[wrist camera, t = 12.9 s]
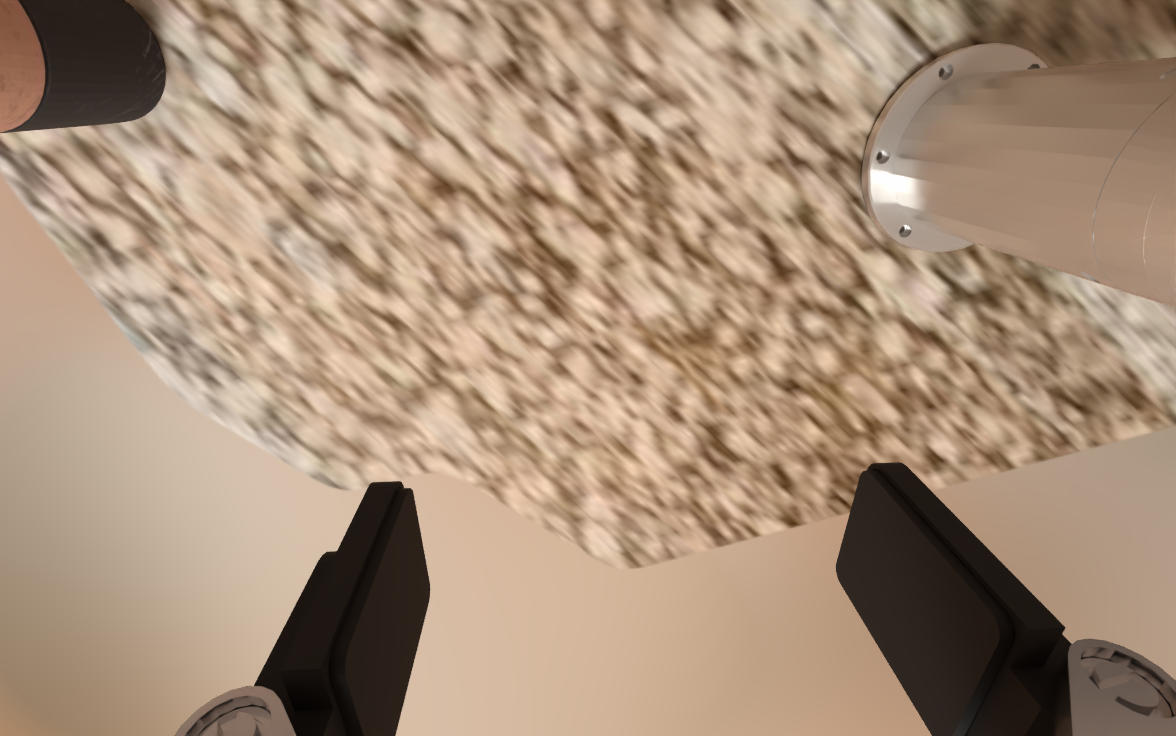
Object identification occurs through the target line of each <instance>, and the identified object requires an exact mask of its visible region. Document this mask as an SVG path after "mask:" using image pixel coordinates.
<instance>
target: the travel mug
mask: <svg viewBox="0 0 1176 736" xmlns="http://www.w3.org/2000/svg"><path fill="white" fill-rule="evenodd" d="M164 85H165V67H164V61H163V57H162V54H161V50H160V48H159V45H158V43H157V41H156V39H155V37H154V35H153V33H152V31H151V30H150V28H149V27H148V25H147V24H146V22H145V21H144V20H143V19H142V17H141V16H140V15H139V14H138V13H137V12H136V11H135V10H134V9H133V7H132V6H130V5H129V4H128V3H127V2H126V1H125V0H0V133H7V132H19V131H30V130H42V129H54V128H66V127H77V126H89V125H101V124H111V123H120V122H127V121H132V120H135V119H138V118H141V117H143V116H145V115H146V114H147V113H149V112H150V111H151V110H152V109H153V108H154V107H155V106H156V105H157V103H158V102H159V100H160V98H161V96H162V93H163V89H164Z"/></svg>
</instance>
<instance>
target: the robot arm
mask: <svg viewBox="0 0 1176 736" xmlns="http://www.w3.org/2000/svg"><path fill="white" fill-rule="evenodd" d="M939 71H940V74H939ZM878 153H879V156H878V158H877V159H876V156H877V154H878ZM861 180H862V190H863V198H864V201H865V204H866V207H867V210H868V213H869V214H870V216H871V218H872V219H873V221H874V223H875V224H876V226H877V227H878V228H879V229H880V230H881V231H882V232H883V233H884V234H885V235H886V236H887V237H889V238H891V239H892V240H894V241H896V242H897V243H899V244H901V245H904V246H907V247H909V248H912V249H915V250H920V251H925V252H947V251H952V250H957V249H962V248H965V247H968V246H970V245H973V244H975V243H976V244H979V245H982V246H985V247H988V248H991V249H994V250H997V251H1000V252H1003V253H1006V254H1010V255H1013V256H1016V257H1019V258H1022V259H1025V260H1028V261H1031V262H1034V263H1037V264H1040V265H1044V266H1047V267H1050V268H1053V269H1056V270H1059V271H1062V272H1065V273H1068V274H1071V275H1074V276H1078V277H1081V278H1084V279H1087V280H1090V281H1093V282H1096V283H1099V284H1102V285H1105V286H1109V287H1112V288H1115V289H1118V290H1121V291H1124V292H1127V293H1130V294H1133V295H1136V296H1140V297H1143V298H1146V299H1150V300H1153V301H1156V302H1159V303H1163V304H1167V305H1171V306H1175V307H1176V57H1175V58H1162V59H1150V60H1137V61H1124V62H1112V63H1099V64H1087V65H1074V66H1062V67H1048V65H1047V64H1046V63H1045V62H1044V61H1043V60H1042V59H1041V58H1039V57H1038V56H1037V55H1035V54H1034V53H1033V52H1032V51H1029V50H1027V49H1024V48H1022V47H1019V46H1017V45H1011V44H1003V43H989V44H979V45H973V46H969V47H964V48H960V49H956V50H954V51H952V52H949V53H947V54H945V55H942V56H940V57H938V58H936V59H935V60H933V61H932V62H930V63H929V64H927V65H925V66H924V67H922V68H921V69H919V70H918V71H917V72H916V73H915V74H914V75H913V76H911V77H910V78H909V79H908V80H907V81H906V82H905V83H904V84H902V86H901V87H900V88H899V89H898V90H897V92H896V93H895V94H894V95H893V96H892V98H891V99H890V100H889V101H888V103H887V104H886V106H885V108H884V109H883V111H882V112H881V114H880V116H879V117H878V119H877V121H876V123H875V125H874V127H873V130H872V132H871V134H870V137H869V139H868V142H867V146H866V150H865V154H864V158H863V165H862V178H861ZM836 572H837V577H838V580H839V582H840V584H841V585H842V587H843V588H844V590H845V592H846V594H847V595H848V597H849V599H850V600H851V602H852V603H853V605H854V607H855V609H856V610H857V612H858V613H859V615H860V617H861V619H862V620H863V622H864V623H865V625H866V627H867V628H868V630H869V632H870V633H871V635H872V637H873V638H874V640H875V642H876V643H877V645H878V647H879V648H880V650H881V652H882V653H883V655H884V657H885V658H886V660H887V662H888V663H889V665H890V666H891V668H892V670H893V671H894V673H895V675H896V676H897V678H898V680H899V681H900V683H901V684H902V687H903V688H904V690H905V691H906V693H907V695H908V696H909V698H910V700H911V701H912V703H913V705H914V706H915V708H916V710H917V711H918V713H919V715H920V716H921V718H922V720H923V721H924V723H925V725H926V726H927V728H928V730H929V731H930V733H931V735H932V736H1176V680H1174V679H1173V678H1172V677H1171V676H1170V675H1168V674H1167V673H1166V672H1165V671H1164V670H1163V669H1161V668H1160V667H1159V666H1157V665H1156V664H1154V663H1152V662H1151V661H1149V660H1148V659H1146V658H1145V657H1143V656H1142V655H1140V654H1137V653H1135V652H1133V651H1131V650H1129V649H1127V648H1125V647H1123V646H1120V645H1117V644H1114V643H1110V642H1107V641H1104V640H1096V639H1083V640H1077V641H1076V642H1074V643H1073V644H1071V643H1070V642H1069V641H1068V640H1067V639H1066V638H1065V637H1064V636H1063V635H1062V633H1063V631H1064V629H1065V627H1064V626H1063V625H1062V624H1061V623H1060V622H1059V621H1058V620H1057V619H1056V617H1055V616H1054V615H1053V614H1052V613H1051V612H1050V611H1049V610H1047V608H1046V607H1045V606H1044V605H1043V604H1042V603H1041V602H1040V601H1039V600H1038V599H1037V598H1036V597H1035V596H1034V595H1033V594H1032V593H1031V592H1030V591H1029V590H1028V589H1027V588H1026V587H1025V586H1024V585H1023V584H1022V583H1021V582H1020V581H1019V580H1018V579H1017V578H1016V577H1015V576H1014V575H1013V574H1012V573H1011V572H1010V571H1009V570H1008V569H1007V568H1006V567H1005V566H1004V565H1003V564H1002V563H1001V562H1000V561H999V560H998V559H997V558H996V557H995V555H993V553H991V552H990V550H989V549H988V548H987V547H986V546H985V545H984V544H983V543H982V542H981V541H980V540H979V539H978V538H977V537H976V536H975V535H974V534H973V533H972V532H971V531H970V530H969V529H968V528H967V527H966V526H965V525H964V524H963V523H962V522H961V521H960V520H959V519H958V518H957V517H956V516H955V515H954V514H953V513H952V512H951V511H950V510H949V509H948V508H947V507H946V506H945V505H944V504H943V503H942V502H941V501H940V500H939V499H938V498H937V497H936V496H935V495H934V494H933V492H932V491H931V490H930V489H929V488H928V487H927V486H926V485H925V484H924V483H923V482H922V481H921V480H920V479H919V478H918V477H917V476H916V475H915V474H914V473H913V472H912V471H911V470H910V469H909V468H908V467H907V466H906V465H904V464H903V463H899V462H898V463H874V464H871V465H870V466H869V467H868V469H867V471H863V472H862V473H861V475H860V478H859V482H858V485H857V489H856V493H855V497H854V500H853V504H852V508H851V511H850V515H849V519H848V522H847V526H846V530H845V533H844V538H843V541H842V544H841V548H840V552H839V556H838V559H837V563H836ZM429 598H430V582H429V576H428V571H427V565H426V560H425V554H424V549H423V543H422V538H421V532H420V527H419V522H418V516H417V511H416V505H415V500H414V495H413V491H412V489H411V488H404V486H403V484H402V482H400V481H396V482H373V483H371V484H370V485H369V487H368V489H367V491H366V493H365V495H364V497H363V499H362V501H361V503H360V505H359V507H358V509H357V511H356V513H355V515H354V518H353V519H352V522H351V524H350V526H349V528H348V530H347V532H346V534H345V536H344V538H343V540H342V542H341V545H340V546H339V548H338V550H337V551H335V552H326V553H325V554H324V555H322V557H321V558H320V560H319V561H318V563H317V565H316V567H315V569H314V570H313V572H312V575H311V576H310V578H309V580H308V582H307V584H306V586H305V588H304V590H303V592H302V594H301V596H300V598H299V600H298V601H297V603H296V605H295V607H294V609H293V611H292V613H291V615H290V617H289V619H288V621H287V623H286V625H285V627H284V628H283V630H282V632H281V634H280V636H279V638H278V640H277V642H276V644H275V646H274V648H273V650H272V652H271V654H270V656H269V658H268V659H267V662H266V664H265V665H264V667H263V669H262V671H261V673H260V675H259V677H258V679H257V681H256V683H255V685H254V686H246V687H242V688H238V689H234V690H230V691H228V692H226V693H224V694H222V695H220V696H218V697H216V698H213V699H212V700H211V701H209V702H208V703H206V704H205V705H204V706H202V707H201V708H199V709H198V710H197V711H196V712H194V714H192V715H191V716H190V717H189V718H188V719H187V720H186V722H184V723H183V724H182V725H181V727H180V728H179V730H178V731H177V732H176V734H175V735H174V736H395V735H396V731H397V727H398V723H399V719H400V715H401V711H402V707H403V703H404V699H405V695H406V691H407V687H408V683H409V679H410V675H411V671H412V667H413V663H414V659H415V655H416V651H417V647H418V643H419V639H420V635H421V631H422V627H423V623H424V619H425V615H426V611H427V607H428V603H429Z"/></svg>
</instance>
